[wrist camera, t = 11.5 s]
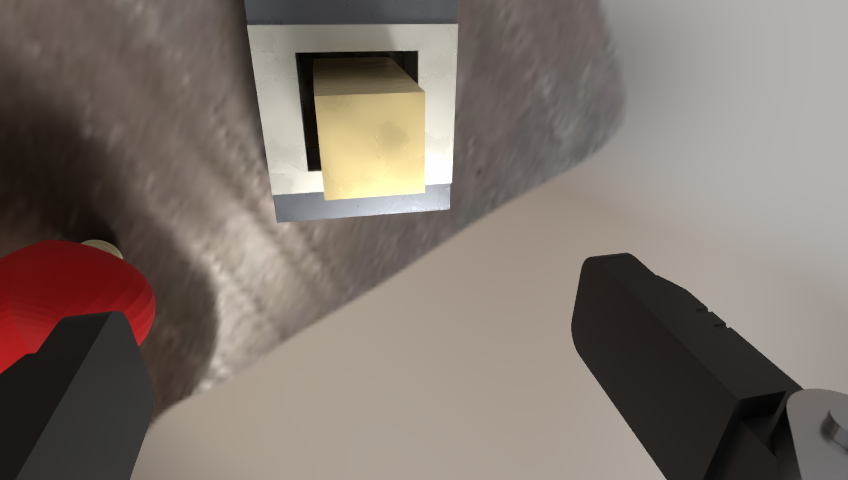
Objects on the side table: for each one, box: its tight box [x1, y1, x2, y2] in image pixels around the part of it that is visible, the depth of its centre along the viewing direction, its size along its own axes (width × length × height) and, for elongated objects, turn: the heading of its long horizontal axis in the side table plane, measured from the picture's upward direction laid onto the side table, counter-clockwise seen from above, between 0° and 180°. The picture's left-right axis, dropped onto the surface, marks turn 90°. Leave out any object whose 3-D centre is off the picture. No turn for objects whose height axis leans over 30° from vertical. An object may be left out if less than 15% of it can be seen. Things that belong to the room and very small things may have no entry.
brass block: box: [313, 57, 425, 200], centre depth 25 cm, size 4×4×10 cm
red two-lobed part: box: [0, 240, 155, 374], centre depth 26 cm, size 9×7×10 cm
